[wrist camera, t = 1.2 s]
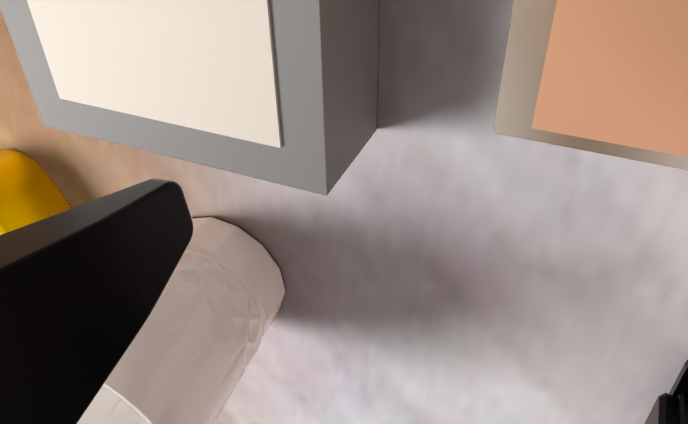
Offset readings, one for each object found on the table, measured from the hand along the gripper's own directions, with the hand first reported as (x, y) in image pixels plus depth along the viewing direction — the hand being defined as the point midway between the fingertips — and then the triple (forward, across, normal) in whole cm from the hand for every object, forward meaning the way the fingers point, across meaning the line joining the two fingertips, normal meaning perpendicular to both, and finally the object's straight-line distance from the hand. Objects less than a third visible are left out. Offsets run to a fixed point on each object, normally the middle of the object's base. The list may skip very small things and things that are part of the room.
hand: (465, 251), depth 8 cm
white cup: (+13, +16, +15) cm, 25 cm away
